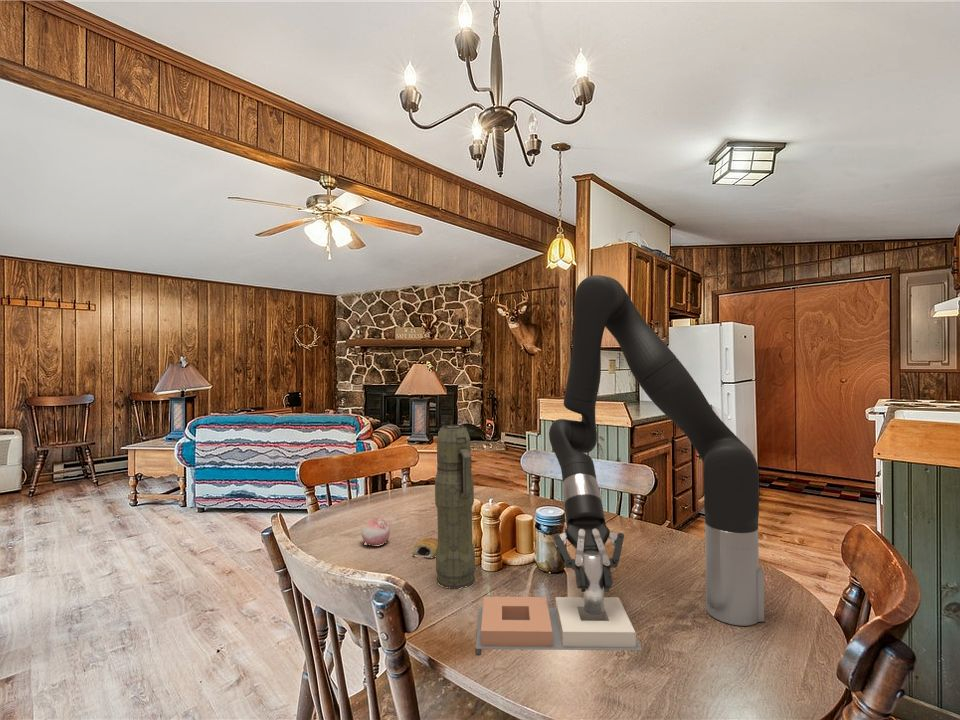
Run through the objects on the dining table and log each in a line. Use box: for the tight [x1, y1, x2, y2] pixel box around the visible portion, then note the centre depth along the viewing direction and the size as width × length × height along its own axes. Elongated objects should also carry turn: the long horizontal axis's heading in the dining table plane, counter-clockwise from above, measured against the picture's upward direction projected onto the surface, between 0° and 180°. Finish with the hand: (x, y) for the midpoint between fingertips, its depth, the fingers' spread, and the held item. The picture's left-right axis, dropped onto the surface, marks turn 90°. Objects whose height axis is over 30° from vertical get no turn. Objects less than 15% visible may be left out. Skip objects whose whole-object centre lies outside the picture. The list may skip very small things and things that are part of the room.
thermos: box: [434, 424, 476, 589], centre depth 112 cm, size 9×12×35 cm
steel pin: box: [582, 551, 605, 615], centre depth 90 cm, size 4×4×10 cm
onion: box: [361, 517, 391, 546], centre depth 135 cm, size 8×8×7 cm
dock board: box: [475, 596, 643, 655], centre depth 90 cm, size 28×14×4 cm, turn 87°
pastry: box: [412, 537, 438, 559], centre depth 129 cm, size 9×7×4 cm
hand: (595, 589), depth 88 cm, fingers closed on steel pin, 3 cm apart
